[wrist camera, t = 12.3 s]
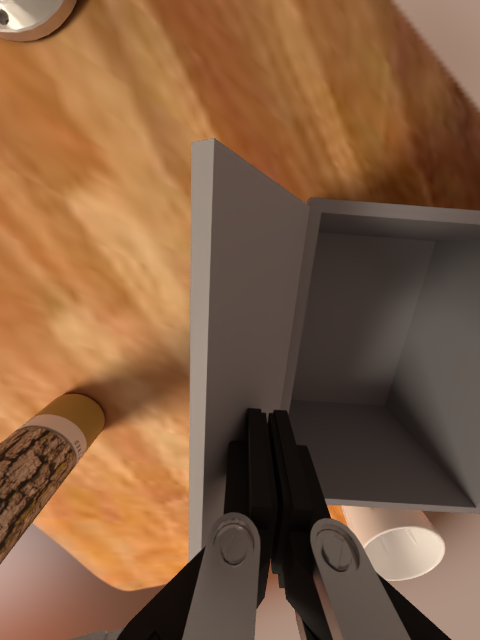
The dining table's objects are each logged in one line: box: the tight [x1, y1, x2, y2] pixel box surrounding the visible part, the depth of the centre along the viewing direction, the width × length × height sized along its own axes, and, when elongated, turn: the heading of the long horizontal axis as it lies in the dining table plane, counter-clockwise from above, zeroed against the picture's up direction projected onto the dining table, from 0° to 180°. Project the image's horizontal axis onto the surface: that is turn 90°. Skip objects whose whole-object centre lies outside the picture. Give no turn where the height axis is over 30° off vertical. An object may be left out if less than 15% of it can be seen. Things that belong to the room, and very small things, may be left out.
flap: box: [189, 138, 310, 562], centre depth 11 cm, size 8×19×1 cm
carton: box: [280, 198, 480, 514], centre depth 20 cm, size 20×16×12 cm
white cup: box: [341, 506, 445, 581], centre depth 27 cm, size 8×8×10 cm
